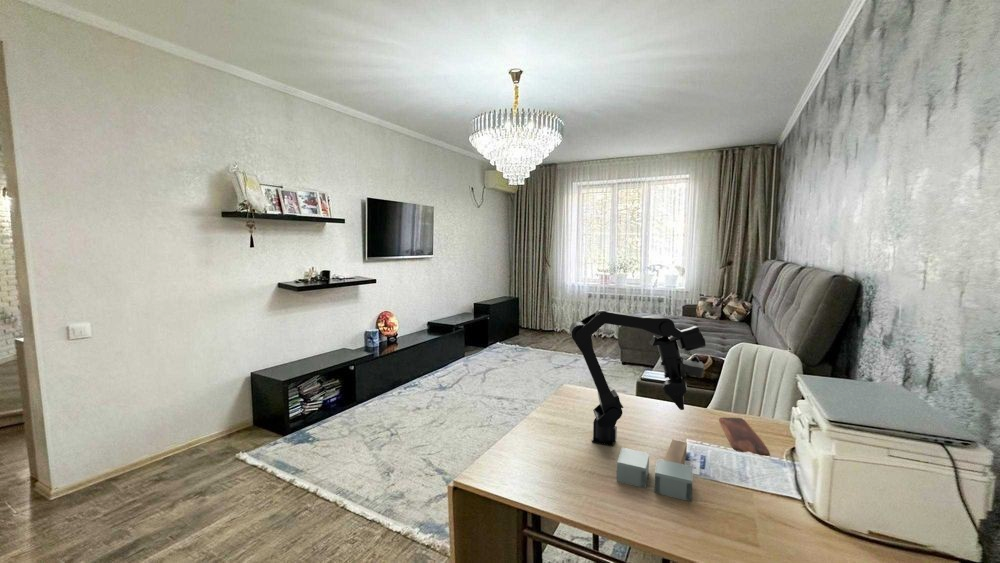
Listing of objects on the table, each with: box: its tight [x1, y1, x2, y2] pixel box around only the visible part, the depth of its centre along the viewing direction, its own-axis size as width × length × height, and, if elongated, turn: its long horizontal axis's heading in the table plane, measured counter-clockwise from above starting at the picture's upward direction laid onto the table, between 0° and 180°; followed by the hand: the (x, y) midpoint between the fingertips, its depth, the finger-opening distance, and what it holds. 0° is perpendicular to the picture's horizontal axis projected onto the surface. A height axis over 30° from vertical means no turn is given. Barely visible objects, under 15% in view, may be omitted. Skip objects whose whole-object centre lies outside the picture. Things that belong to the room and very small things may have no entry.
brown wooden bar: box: [664, 438, 688, 464], centre depth 113 cm, size 4×16×4 cm, turn 148°
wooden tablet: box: [718, 416, 770, 456], centre depth 131 cm, size 26×2×10 cm
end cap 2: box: [654, 458, 693, 503], centre depth 101 cm, size 8×7×5 cm
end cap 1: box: [616, 447, 650, 489], centre depth 107 cm, size 8×7×5 cm
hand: (682, 402), depth 124 cm, fingers open, 9 cm apart
